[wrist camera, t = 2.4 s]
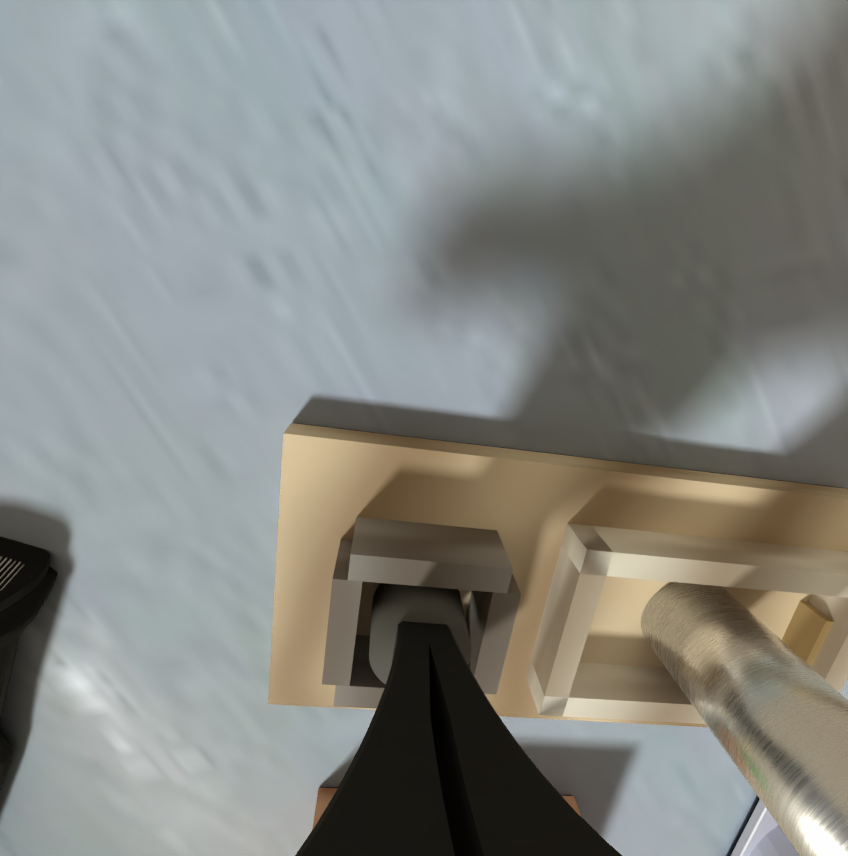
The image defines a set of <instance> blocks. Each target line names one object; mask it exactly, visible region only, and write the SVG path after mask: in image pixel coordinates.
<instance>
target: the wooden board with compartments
mask: <svg viewBox="0 0 848 856" xmlns="http://www.w3.org/2000/svg"><path fill="white" fill-rule="evenodd" d="M671 582H679V583H690V584H701V585H713V586H723V587H724V588H725V589H726V590H727V591H728V592H729V593H730V594H731V595H733V596H734V597H735V598H736V599H737V600H738V601H739V602H740V603H741V604H742V605H744V606H745V607H746V608H747V609H748V610H749V611H750V612H751V613H752V614H753V615H755V616H756V617H757V618H758V619H759V620H760V621H761V622H762V623H763V624H764V625H765V626H767V627H768V628H769V629H770V630H771V631H772V632H773V633H774V634H775V635H776V636H778V637H779V638H780V639H781V640H782V641H783V642H784V643H785V644H786V645H787V646H789V647H790V648H791V649H792V650H793V651H794V652H795V653H796V654H797V655H798V656H800V657H801V658H802V659H803V660H804V661H805V662H806V663H807V664H808V665H809V666H811V667H812V668H813V669H814V670H815V671H816V672H817V673H818V674H819V675H820V676H822V677H823V678H824V679H825V680H826V681H827V682H828V683H829V684H830V685H831V686H832V687H834V688H835V689H836V690H837V691H838V692H839V693H840V691H841V689H842V688H843V686H844V684H845V682H846V680H847V678H848V489H845V488H837V487H828V486H820V485H811V484H803V483H795V482H786V481H778V480H769V479H761V478H752V477H744V476H735V475H727V474H718V473H710V472H701V471H693V470H684V469H676V468H668V467H659V466H651V465H642V464H634V463H625V462H617V461H608V460H600V459H591V458H583V457H574V456H566V455H557V454H549V453H540V452H532V451H524V450H515V449H507V448H498V447H490V446H481V445H473V444H464V443H456V442H447V441H439V440H430V439H422V438H413V437H405V436H397V435H388V434H380V433H371V432H363V431H354V430H346V429H337V428H329V427H320V426H312V425H303V424H295V423H291V424H290V425H289V427H288V428H287V429H286V431H285V432H284V434H283V452H282V470H281V487H280V505H279V522H278V540H277V558H276V575H275V593H274V610H273V628H272V646H271V663H270V681H269V698H268V704H277V705H296V706H315V707H334V708H353V709H372V710H376V709H377V706H378V704H379V701H380V699H381V696H382V693H383V691H384V688H385V685H386V684H384V683H383V682H382V681H381V680H380V679H379V678H378V677H377V676H376V675H375V673H374V672H373V670H372V668H371V665H370V661H369V647H370V632H371V617H372V602H373V596H374V594H375V591H376V589H377V587H378V586H379V585H380V583H388V584H400V585H412V586H424V587H436V588H448V589H458V590H459V592H460V596H461V601H462V606H463V610H464V615H465V620H466V624H467V629H468V633H469V638H470V643H471V658H470V661H469V664H468V666H469V668H470V670H471V672H472V673H473V675H474V677H475V679H476V680H477V682H478V684H479V685H480V687H481V689H482V691H483V692H484V694H485V696H486V697H487V699H488V700H489V702H490V704H491V705H492V707H493V708H494V710H495V711H496V713H497V714H498V716H506V717H525V718H544V719H563V720H582V721H601V722H620V723H639V724H658V725H677V726H696V727H708V726H707V725H706V723H705V722H704V720H703V719H702V718H701V716H700V715H699V713H698V712H697V711H696V709H695V708H694V706H693V705H692V704H691V702H690V701H689V699H688V698H687V697H686V695H685V694H684V692H683V691H682V690H681V688H680V687H679V685H678V684H677V683H676V681H675V680H674V678H673V677H672V676H671V674H670V673H669V671H668V670H667V669H666V667H665V666H664V664H663V663H662V662H661V660H660V659H659V657H658V656H657V655H656V653H655V652H654V650H653V649H652V648H651V646H650V645H649V643H648V642H647V641H646V639H645V638H644V636H643V633H642V630H641V617H642V613H643V610H644V608H645V606H646V604H647V603H648V601H649V600H650V599H651V597H652V596H653V595H654V594H655V593H656V592H658V591H659V590H660V589H661V588H663V587H664V586H666V585H668V584H669V583H671Z"/></svg>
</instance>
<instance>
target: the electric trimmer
mask: <svg viewBox="0 0 848 856" xmlns="http://www.w3.org/2000/svg"><path fill="white" fill-rule="evenodd" d="M49 560H50V554H49V553H48V551H46V550H44V549H41V548H38V547H35V546H31V545H28V544H24V543H21V542H17V541H14V540H10V539H7V538H3V537H0V719H1V714H2V710H3V705H4V701H5V696H6V692H7V687H8V683H9V678H10V674H11V669H12V665H13V660H14V656H15V651H16V647H17V642H18V638H19V634H20V633H21V632H22V631H23V630H24V628H25V627H26V626H27V625H28V624H29V623H30V622H31V620H32V619H33V618H34V617H35V616H36V615H37V613H38V612H39V610H40V609H41V607H42V606H43V604H44V602H45V600H46V599H47V597H48V595H49V593H50V591H51V589H52V587H53V584H54V582H55V579H56V576H57V572H56V571H55V570H54V569H53V568H51V567H50V566H49ZM12 756H13V748H12V746H11V745H10V744H9V743H8V742H7V741H6V740H5V739H4V738H3V737H2V736H1V735H0V789H1V787H2V784H3V782H4V779H5V776H6V773H7V770H8V768H9V765H10V762H11V759H12Z"/></svg>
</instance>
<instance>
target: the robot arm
mask: <svg viewBox="0 0 848 856" xmlns="http://www.w3.org/2000/svg"><path fill="white" fill-rule="evenodd" d="M295 856H622V855H621V854H620V853H618V852H617V851H616V850H615V849H614V848H613V847H612V846H611V845H609V844H608V843H607V842H606V841H605V840H604V839H603V838H602V837H601V836H600V835H599V834H598V833H597V832H596V831H595V830H594V829H593V828H592V827H591V826H590V825H589V824H588V823H587V822H586V821H585V820H584V819H583V818H582V817H581V816H580V815H579V814H578V813H577V812H576V811H575V810H574V809H573V808H572V807H571V806H570V805H569V804H568V802H567V801H566V800H565V799H564V798H563V797H562V796H561V795H560V794H559V792H558V791H557V790H556V789H555V788H554V787H553V786H552V785H551V784H550V783H549V781H548V780H547V779H546V778H545V777H544V776H543V774H542V773H541V772H540V771H539V770H538V768H537V767H536V766H535V765H534V763H533V762H532V761H531V760H530V759H529V757H528V756H527V755H526V753H525V752H524V751H523V749H522V748H521V747H520V746H519V744H518V743H517V742H516V740H515V739H514V737H513V736H512V735H511V733H510V732H509V731H508V729H507V728H506V726H505V725H504V723H503V722H502V720H501V719H500V717H499V716H498V714H497V713H496V711H495V710H494V708H493V707H492V705H491V704H490V702H489V700H488V699H487V697H486V696H485V694H484V692H483V691H482V689H481V687H480V685H479V684H478V682H477V680H476V679H475V677H474V675H473V673H472V672H471V670H470V668H469V666H468V664H467V662H466V660H465V659H464V657H463V655H462V653H461V651H460V649H459V647H458V645H457V643H456V641H455V639H454V636H453V634H452V632H451V630H450V628H449V627H448V625H447V624H435V623H421V622H407V621H402V622H401V623H399V624H398V627H397V633H396V640H395V646H394V653H393V659H392V665H391V669H390V672H389V676H388V679H387V682H386V685H385V688H384V691H383V693H382V696H381V699H380V701H379V704H378V706H377V709H376V712H375V714H374V716H373V719H372V721H371V723H370V726H369V728H368V730H367V732H366V735H365V737H364V739H363V741H362V743H361V745H360V747H359V749H358V751H357V753H356V755H355V757H354V759H353V761H352V763H351V765H350V767H349V769H348V771H347V773H346V774H345V776H344V778H343V780H342V782H341V784H340V785H339V787H338V789H337V791H336V792H335V794H334V796H333V797H332V799H331V801H330V802H329V804H328V806H327V807H326V809H325V811H324V812H323V814H322V816H321V817H320V819H319V821H318V822H317V824H316V825H315V827H314V829H313V830H312V832H311V833H310V835H309V836H308V838H307V839H306V841H305V842H304V844H303V845H302V847H301V848H300V849H299V851H298V852H297V854H296V855H295ZM731 856H800V855H799V853H798V852H797V850H796V849H795V848H794V846H793V845H792V843H791V842H790V841H789V839H788V838H787V836H786V835H785V834H784V832H783V831H782V829H781V828H780V827H779V825H778V824H777V822H776V821H775V820H774V818H773V817H772V815H771V814H770V813H769V811H768V810H767V808H766V807H765V806H764V804H763V803H762V801H761V800H759V802H758V804H757V806H756V808H755V809H754V811H753V813H752V815H751V817H750V819H749V821H748V823H747V825H746V827H745V829H744V831H743V833H742V835H741V837H740V838H739V840H738V842H737V844H736V846H735V848H734V850H733V852H732V854H731Z"/></svg>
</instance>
